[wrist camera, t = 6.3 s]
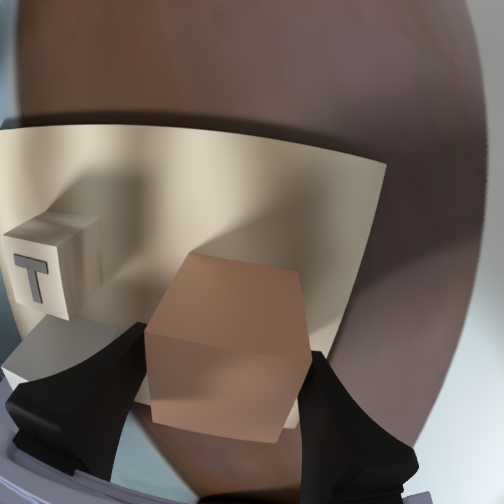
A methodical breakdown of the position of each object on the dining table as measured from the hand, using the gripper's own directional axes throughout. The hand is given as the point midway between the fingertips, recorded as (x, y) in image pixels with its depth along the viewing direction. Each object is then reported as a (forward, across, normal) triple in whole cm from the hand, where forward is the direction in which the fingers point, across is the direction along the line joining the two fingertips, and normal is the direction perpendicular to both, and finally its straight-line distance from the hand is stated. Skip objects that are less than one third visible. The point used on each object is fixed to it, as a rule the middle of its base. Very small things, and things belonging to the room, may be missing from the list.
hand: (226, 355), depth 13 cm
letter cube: (+4, +10, -2) cm, 11 cm away
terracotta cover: (+4, 0, 0) cm, 4 cm away
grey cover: (+4, +10, +6) cm, 12 cm away
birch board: (+5, +6, +1) cm, 8 cm away
